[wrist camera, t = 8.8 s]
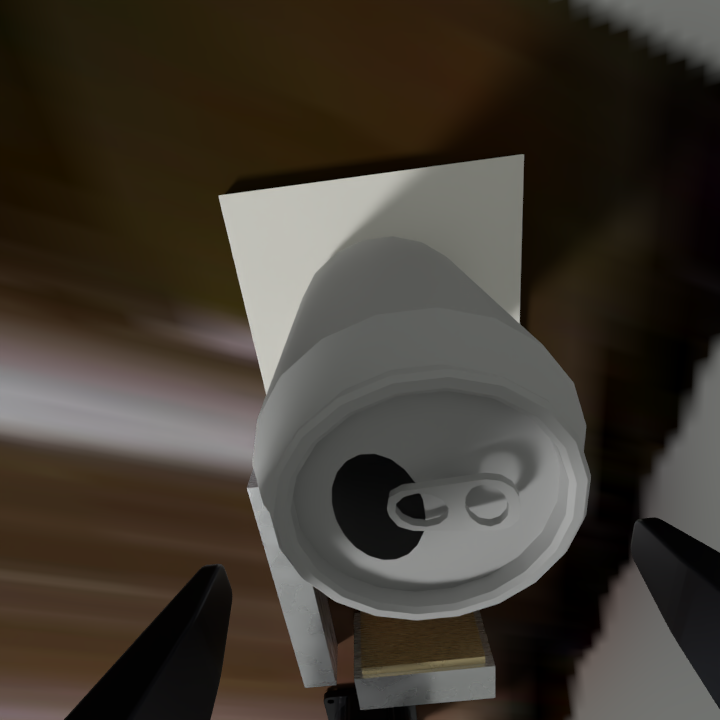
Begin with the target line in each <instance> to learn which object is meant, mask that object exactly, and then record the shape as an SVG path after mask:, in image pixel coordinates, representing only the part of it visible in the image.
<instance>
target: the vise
mask: <svg viewBox="0 0 720 720" xmlns="http://www.w3.org/2000/svg"><path fill="white" fill-rule="evenodd" d="M247 490H248V494H249V497H250V501H251V504H252V507H253V511H254V514H255V518H256V521H257V525H258V528H259V531H260V535H261V538H262V542H263V545H264V549H265V552H266V555H267V559H268V562H269V566H270V569H271V573H272V576H273V579H274V583H275V586H276V590H277V593H278V597H279V600H280V603H281V607H282V610H283V614H284V617H285V621H286V624H287V627H288V631H289V634H290V638H291V641H292V645H293V648H294V651H295V655H296V658H297V662H298V665H299V669H300V672H301V675H302V679H303V682H304V686H305V688H309V687H320V686H330V685H337V653H338V644H337V639H336V635H335V630H334V626H333V622H332V617H331V613H330V608H329V604H328V599H327V595H325V594H324V593H322V592H321V591H319V590H318V589H317V588H315V587H314V586H312V585H311V584H309V583H308V582H307V581H305V580H304V579H302V578H301V576H300V575H299V574H298V572H297V571H296V570H295V568H294V567H293V566H292V564H291V563H290V562H289V560H288V559H287V558H286V556H285V555H284V554H283V552H282V551H281V550H280V548H279V545H278V542H277V538H276V534H275V531H274V527H273V523H272V520H271V516H270V513H269V511H268V510H267V509H266V507H265V506H264V505H263V501H262V498H261V494H260V491H259V487H258V483H257V480H256V476H255V472H254V469H253V472H252V475H251V478H250V481H249V484H248V487H247ZM354 681H355V686H356V691H357V696H358V700H359V705H360V710H368V709H378V708H389V707H400V706H411V705H422V704H433V703H444V702H454V701H465V700H476V699H487V698H495V663H494V660H493V656H492V653H491V649H490V646H489V642H488V639H487V636H486V632H485V629H484V625H483V622H482V618H481V615H480V611H479V610H477V611H474V612H471V613H467V614H464V615H461V616H456V617H446V618H436V619H426V620H408V619H399V618H390V617H381V616H374V615H371V614H368V613H366V612H363V611H360V613H354Z"/></svg>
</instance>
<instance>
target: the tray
mask: <svg viewBox="0 0 720 720" xmlns="http://www.w3.org/2000/svg"><path fill="white" fill-rule="evenodd" d="M523 179H524V154H520V155H512V156H505V157H497V158H490V159H482V160H475V161H468V162H460V163H453V164H446V165H438V166H431V167H424V168H416V169H409V170H401V171H394V172H387V173H379V174H372V175H365V176H357V177H350V178H342V179H335V180H328V181H320V182H313V183H306V184H298V185H291V186H284V187H276V188H269V189H261V190H254V191H247V192H239V193H232V194H225V195H219V200H220V204H221V209H222V213H223V217H224V221H225V225H226V229H227V233H228V238H229V242H230V246H231V250H232V254H233V258H234V262H235V267H236V271H237V275H238V279H239V283H240V287H241V291H242V296H243V300H244V304H245V308H246V312H247V316H248V320H249V325H250V329H251V333H252V337H253V341H254V345H255V349H256V354H257V358H258V362H259V366H260V370H261V374H262V378H263V383H264V387H265V391H266V395H267V392H268V389H269V387H270V384H271V381H272V379H273V376H274V373H275V370H276V368H277V365H278V362H279V360H280V357H281V354H282V352H283V349H284V346H285V343H286V341H287V338H288V335H289V333H290V330H291V327H292V325H293V322H294V319H295V317H296V314H297V311H298V308H299V306H300V303H301V300H302V298H303V296H304V294H305V292H306V290H307V288H308V286H309V284H310V282H311V280H312V278H313V276H314V274H315V273H316V272H317V271H318V270H319V269H320V268H321V267H322V266H323V265H324V264H325V263H326V262H327V261H328V260H329V259H330V258H331V257H332V256H333V255H335V254H336V253H337V252H339V251H341V250H343V249H345V248H348V247H350V246H352V245H354V244H356V243H358V242H360V241H362V240H368V239H376V238H383V237H391V236H394V237H399V238H404V239H409V240H414V241H419V242H422V243H424V244H426V245H427V246H429V247H431V248H433V249H434V250H436V251H438V252H439V253H441V254H443V255H444V256H446V257H447V258H448V259H450V260H451V261H452V262H453V263H454V264H455V265H456V266H457V267H458V268H459V269H460V270H462V271H463V272H464V273H465V274H466V275H467V276H468V277H469V278H470V279H471V280H472V281H474V282H475V283H476V284H477V285H478V286H479V287H480V288H481V289H482V290H483V291H484V292H486V293H487V294H488V295H489V296H490V297H491V298H492V299H493V300H494V301H495V302H496V303H498V304H499V305H500V306H501V307H502V308H503V309H504V310H505V311H506V312H507V313H508V314H510V315H511V316H512V317H513V318H514V319H515V320H516V321H517V322H518V323H519V324H520V288H521V252H522V215H523Z"/></svg>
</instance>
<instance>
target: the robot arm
mask: <svg viewBox="0 0 720 720" xmlns="http://www.w3.org/2000/svg"><path fill="white" fill-rule="evenodd" d="M631 553H632V557H633V559H634V561H635V563H636V565H637V567H638V569H639V571H640V573H641V575H642V577H643V579H644V581H645V582H646V585H647V587H648V589H649V591H650V592H651V594H652V596H653V598H654V600H655V602H656V604H657V606H658V608H659V610H660V612H661V614H662V616H663V618H664V619H665V622H666V623H667V625H668V627H669V629H670V631H671V633H672V634H673V636H674V637H675V639H676V641H677V642H678V644H679V646H680V647H681V649H682V651H683V652H684V654H685V655H686V657H687V658H688V660H689V661H690V663H691V664H692V666H693V668H694V669H695V671H696V672H697V674H698V676H699V677H700V679H701V680H702V682H703V684H704V685H705V687H706V688H707V690H708V691H709V693H710V695H711V696H712V698H713V699H714V701H715V703H716V704H717V705H718V707H719V709H720V553H719V552H717V551H716V550H714V549H712V548H711V547H709V546H707V545H705V544H704V543H702V542H700V541H698V540H696V539H694V538H693V537H691V536H689V535H688V534H686V533H684V532H682V531H680V530H679V529H677V528H675V527H673V526H672V525H670V524H668V523H666V522H665V521H663V520H661V519H659V518H645V519H638V520H637V521H636V522H635V524H634V530H633V536H632V542H631ZM231 605H232V589H231V586H230V583H229V580H228V577H227V574H226V571H225V569H224V567H223V565H221V564H214V565H206V566H203V567H202V568H201V569H200V570H199V571H198V572H197V573H196V574H195V575H194V576H193V577H192V578H191V580H190V581H189V582H188V583H187V584H186V585H185V586H184V587H183V588H182V590H181V591H180V592H179V593H178V594H177V595H176V596H175V597H174V598H173V600H172V601H171V602H170V603H169V604H168V605H167V606H166V607H165V608H164V609H163V611H162V612H161V613H160V614H159V615H158V616H157V617H156V618H155V619H154V621H153V622H152V623H151V624H150V625H149V626H148V627H147V628H146V629H145V631H144V632H143V633H142V634H141V635H140V636H139V637H138V638H137V639H136V640H135V642H134V643H133V644H132V645H131V646H130V647H129V648H128V649H127V650H126V652H125V653H124V654H123V655H122V656H121V657H120V658H119V659H118V660H117V662H116V663H115V664H114V665H113V666H112V667H111V668H110V669H109V670H108V671H107V673H106V674H105V675H104V676H103V677H102V678H101V679H100V680H99V681H98V683H97V684H96V685H95V686H94V687H93V688H92V689H91V690H90V691H89V693H88V694H87V695H86V696H85V697H84V698H83V699H82V700H81V701H80V702H79V704H78V705H77V706H76V707H75V708H74V709H73V710H72V711H71V712H70V714H69V715H68V716H67V717H66V718H65V719H64V720H210V719H211V715H212V711H213V707H214V703H215V699H216V695H217V691H218V686H219V682H220V677H221V671H222V665H223V659H224V652H225V645H226V639H227V632H228V625H229V618H230V611H231ZM324 704H325V708H326V712H327V715H328V719H329V720H417V715H416V707H415V705H411V706H400V707H389V708H378V709H368V710H360V705H359V700H358V696H357V691H356V689H349V690H339V691H329V692H326V693H325V694H324Z"/></svg>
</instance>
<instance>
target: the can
mask: <svg viewBox="0 0 720 720" xmlns="http://www.w3.org/2000/svg"><path fill="white" fill-rule="evenodd" d="M585 433H586V424H585V420H584V417H583V413H582V410H581V406H580V403H579V399H578V396H577V393H576V389H575V386H574V383H573V382H572V380H571V379H570V378H569V377H568V375H567V374H566V373H565V372H564V370H563V369H562V368H561V367H560V366H559V364H558V363H557V362H556V361H555V359H554V358H553V357H552V356H551V354H550V353H549V352H548V351H547V350H546V348H545V347H544V346H543V345H542V344H541V343H540V342H539V341H538V340H537V339H536V338H535V337H533V336H532V335H531V334H530V333H529V332H528V331H527V330H526V329H525V328H524V327H523V326H522V325H520V324H519V323H518V322H517V321H516V320H515V319H514V318H513V317H512V316H511V315H510V314H508V313H507V312H506V311H505V310H504V309H503V308H502V307H501V306H500V305H499V304H498V303H496V302H495V301H494V300H493V299H492V298H491V297H490V296H489V295H488V294H487V293H486V292H484V291H483V290H482V289H481V288H480V287H479V286H478V285H477V284H476V283H475V282H474V281H472V280H471V279H470V278H469V277H468V276H467V275H466V274H465V273H464V272H463V271H462V270H460V269H459V268H458V267H457V266H456V265H455V264H454V263H453V262H452V261H451V260H450V259H448V258H447V257H446V256H444V255H443V254H441V253H439V252H438V251H436V250H434V249H433V248H431V247H429V246H427V245H426V244H424V243H422V242H419V241H414V240H409V239H404V238H399V237H394V236H391V237H383V238H376V239H368V240H362V241H360V242H358V243H356V244H354V245H352V246H350V247H348V248H345V249H343V250H341V251H339V252H337V253H336V254H335V255H333V256H332V257H331V258H330V259H329V260H328V261H327V262H326V263H325V264H324V265H323V266H322V267H321V268H320V269H319V270H318V271H317V272H316V273H315V274H314V276H313V278H312V280H311V282H310V284H309V286H308V288H307V290H306V292H305V294H304V296H303V298H302V300H301V303H300V306H299V308H298V311H297V314H296V317H295V319H294V322H293V325H292V327H291V330H290V333H289V335H288V338H287V341H286V343H285V346H284V349H283V352H282V354H281V357H280V360H279V362H278V365H277V368H276V370H275V373H274V376H273V379H272V381H271V384H270V387H269V389H268V392H267V395H266V397H265V400H264V403H263V406H262V408H261V411H260V414H259V416H258V419H257V426H256V435H255V443H254V452H253V461H252V465H253V469H254V472H255V476H256V480H257V483H258V487H259V491H260V494H261V498H262V501H263V505H264V506H265V507H266V509H267V510H268V511H269V513H270V516H271V520H272V523H273V527H274V531H275V534H276V538H277V542H278V545H279V548H280V550H281V551H282V552H283V554H284V555H285V556H286V558H287V559H288V560H289V562H290V563H291V564H292V566H293V567H294V568H295V570H296V571H297V572H298V574H299V575H300V576H301V578H302V579H304V580H305V581H307V582H308V583H309V584H311V585H312V586H314V587H315V588H317V589H318V590H319V591H321V592H322V593H324V594H325V595H327V596H328V597H329V598H331V599H332V600H334V601H335V602H338V603H340V604H343V605H346V606H349V607H352V608H354V609H357V610H360V611H363V612H366V613H368V614H371V615H374V616H381V617H390V618H399V619H408V620H426V619H436V618H446V617H456V616H461V615H464V614H467V613H471V612H474V611H477V610H480V609H483V608H486V607H489V606H493V605H496V604H499V603H501V602H503V601H504V600H506V599H508V598H509V597H511V596H513V595H515V594H516V593H518V592H520V591H521V590H523V589H525V588H527V587H528V586H530V585H532V584H533V583H535V582H537V581H538V580H539V579H540V578H541V577H542V576H543V575H544V574H545V573H546V572H547V571H548V570H549V569H550V568H551V567H552V566H553V565H554V564H555V563H556V562H557V561H558V560H559V559H560V558H561V557H562V556H563V555H564V554H565V553H566V551H567V550H568V548H569V546H570V544H571V542H572V541H573V539H574V537H575V535H576V533H577V531H578V529H579V527H580V526H581V524H582V522H583V520H584V518H585V516H586V512H587V504H588V495H589V487H590V479H591V474H590V471H589V468H588V464H587V461H586V458H585V455H584V442H585Z"/></svg>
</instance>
